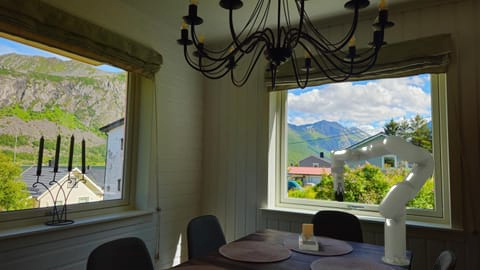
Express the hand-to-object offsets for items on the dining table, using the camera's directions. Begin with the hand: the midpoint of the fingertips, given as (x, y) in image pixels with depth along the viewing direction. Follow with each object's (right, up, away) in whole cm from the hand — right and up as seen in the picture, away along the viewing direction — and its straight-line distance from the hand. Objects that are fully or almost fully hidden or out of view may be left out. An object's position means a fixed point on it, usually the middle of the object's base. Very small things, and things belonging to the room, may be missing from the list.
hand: (339, 200), depth 180 cm
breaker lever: (-16, -24, +8) cm, 30 cm away
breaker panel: (-17, -27, +4) cm, 32 cm away
